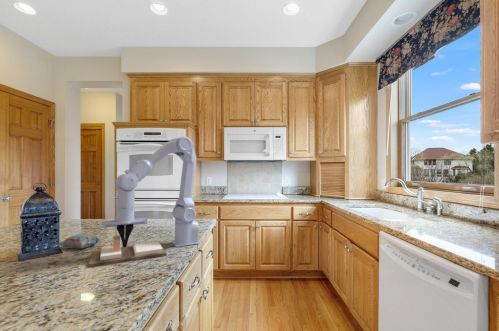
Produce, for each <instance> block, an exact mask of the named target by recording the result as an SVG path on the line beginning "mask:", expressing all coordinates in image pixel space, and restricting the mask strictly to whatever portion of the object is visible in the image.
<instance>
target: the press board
mask: <svg viewBox="0 0 499 331" xmlns="http://www.w3.org/2000/svg"><path fill="white" fill-rule="evenodd" d="M159 243H160V245H161V247H162V248H163V252H160V253H153V254H146V255H139V256H135V254H134V249H133V245H129V246H127V247H123V246H121V258H114V259H107V260H100V256H101V250H102V249H99V250H98V249H97V250H92V252H91V255H90V259H89V262H88V268H94V267H103V266H106V265H107V266H108V265H114V264H115V265H116V264H121V263H127V262H133V261H141V260H148V259H154V258H155V259H156V258H160V257H161V258H162V257H166V256H167V251H166V250H165V248H164V246H163V245H162V243H161V242H159Z"/></svg>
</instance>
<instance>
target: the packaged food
mask: <svg viewBox="0 0 499 331" xmlns="http://www.w3.org/2000/svg"><path fill="white" fill-rule="evenodd" d="M101 241H102V239H100V238H99V236H97V235H95V234H89V233H86V234H85V233H77V234H74V235H70V236H69V237H67V238H65V239H64V240H63V241H60V242H59V243H60V245H59V246H62V247H63V248H66V249H76V250H80V249H81V250H82V249H87V248H89V247H92V246H95V245H96V244H98V243H99V242H101Z"/></svg>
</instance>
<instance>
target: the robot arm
mask: <svg viewBox="0 0 499 331" xmlns="http://www.w3.org/2000/svg"><path fill="white" fill-rule="evenodd" d="M194 144H195V143H194V141H192V140H191V139H190V138H189V137H188V136H184V135H183V136H180V137H175V138H174V137H173V138H171V139H170V140H169V141H167V142H165V143H164V144H163V145H162V146H161V147H160V148H158V149H157V150H156V151H154V153H153V154H151V155H150V157H147V159H140V160H139V159H138V160H136V161H134V163H135V164H134V165H132V166H131V167H130V168H129V169H125V170H124V174H120V175H119V176H117V178H116V180H115V181H114V185H115V187H116V188H117V189H116V207H115V209H116V211H115V212H116V214H115V218H116V219H113V220H103V221H100V225H101V226H100V228H101V229H105V228H114V227H116V232H118V234H119V235H118V236H120V241H121V244H122V245H121V247H128V242H129V239H130V236H131V233H132V232H133V230H134V227H135V226H136V225H137V226H138V225H148V218H147V217H145V218H144V217H143V218H142V217H140V218H139V217H138V218H135V206H136V205H135V201H136V200H135V199H136V197H135V196H136V195H135V191H136V190H135V189H136V188H137V187H138V184H139V183H140V182H141V181H142V180H144V178H146V177H147V176H148V175H150V174H151V173H152V172H153V167H154V166H155V165H156V164H158V163H159V162H161V160H163V159H164V158H165V157H167V156H168V155H170V154H174V155H175V156H177V157H179V158H180V160H182V167H181V168H182V170H181V177H180V186H179V194H178V198H177V200H176V201H175V206H174V207H173V210H172V211H171V212H172V217H173V218H174V240H171V243H172V244H173V245H174V247H176V248H178V247H184V246H194V245H199V244H200V242H199V241H200V240H199V239H200V238H199V236H200V235H199V231H200V228H199V223H198V221H196V220H195V218H196V217H197V211H196V209H195V207H196V205H195V204H196V203H195V202H194V200H193V192H194V186H195V174H196V168H197V167H196V166H197V154H196V152H195V149H194V146H195V145H194Z"/></svg>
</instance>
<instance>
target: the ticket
mask: <svg viewBox="0 0 499 331" xmlns="http://www.w3.org/2000/svg"><path fill="white" fill-rule="evenodd" d="M160 243H161V242H159V240H155V241H154V240H153V241H145V242H136V243H133V244H132V246H133V249H134V254H135V256H139V255H146V254H153V253H160V252H163V248H164V247H163V246H162V247H163V248H162V247H161V245H162V244H161V245H160Z"/></svg>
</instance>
